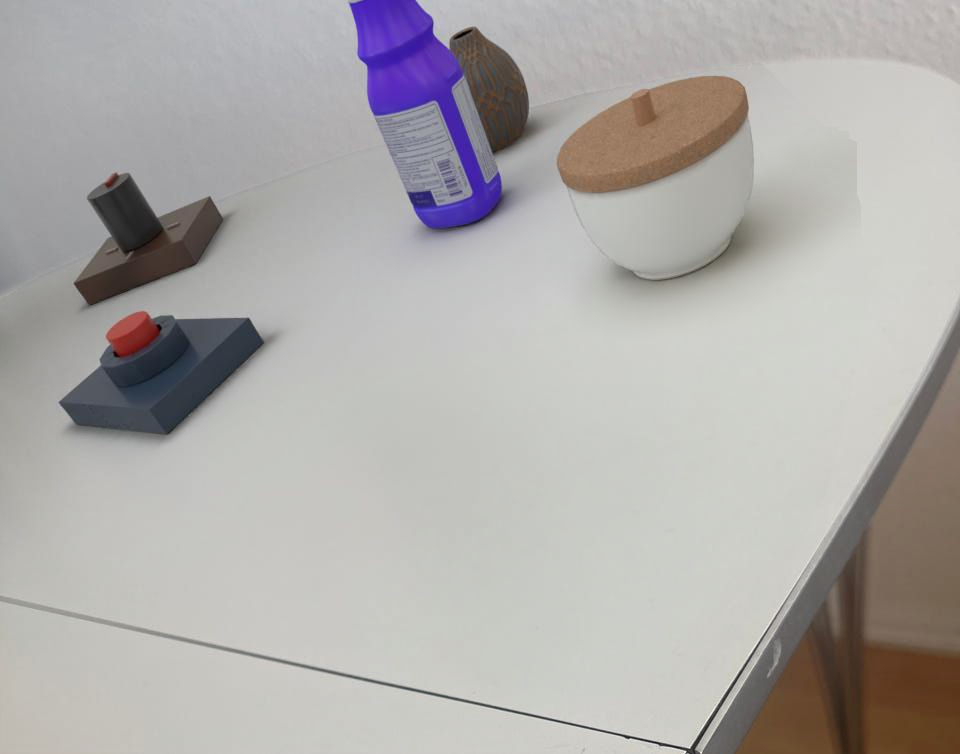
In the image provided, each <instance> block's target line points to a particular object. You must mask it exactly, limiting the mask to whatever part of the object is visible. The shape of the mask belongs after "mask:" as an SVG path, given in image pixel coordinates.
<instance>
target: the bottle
mask: <svg viewBox="0 0 960 754" xmlns="http://www.w3.org/2000/svg"><path fill="white" fill-rule="evenodd" d="M347 2H348V4H349V5H348V6H349V8H350V11H351V13H352V16H353V20H354V23H355V28H356V29H355V30H356V36H357V51H356V54H357V57H358V59H359V60H360V61H361V62H362V63H363V64H365V65H366V74H367V75H366V96H367V101H368V106H369V108H370V111H371V113H372V115H373V117H374V120H375V123H376V125H377V127H378V129H379V131H380V135H382V138H383V142H384V143H385V146H386V148H387V151H388V153H389V155H390V157H391V159H392V162H393V164H394V167H395V168H396V170H397V173H398V175H399V178H400V180H401V181H402V185H403V187H404V190H405V192H406V194H407V196H408V199H409V201H410V203H411V205H412V208H413V211H414V212H415V214H416V216H417V218H418V219H419V220H420V221H421V223H422V224H424V225H425V226H426V227H428V228H432V229H445V228H453V227H459V226H464V225H467V224H471V223H474V222H477V221H479V220H481V219H483V218H484V217H486V216H488V214H489V213H490V212H491V211H492V210H493V208H495V207H496V206H497V204H498V203H499V201H500V199H501V197H502V192H503V183H502V177H501V174H500V171H499V168H498V165H497V161H496V159H495V156H494V154H493V151H491V148H490V145H489V143H488V140H487V137H486V134H485V131H484V129H483V126H482V123H481V120H480V118H479V115H478V112H477V109H476V107H475V104H474V101H473V98H472V96H471V93H470V90H469V87H468V84H467V82H466V79H465V76H464V74H463V71H462V69H461V66H460V64H459V62H458V60H457V59H456V57H455V56H454V54H453V53H452V52H451V51H450V50H449V47H447V46H446V45H445V44H444V43H443V42H442V41H441V40H440V39H438V37H437V36H436V35H435V34H434V23H435V22H434V18H433V16H431V14H429V13H427V11H425V9H424V8H423V7H422V6H421V5H420V4H419V2H418V1H417V0H347Z"/></svg>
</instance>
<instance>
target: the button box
mask: <svg viewBox="0 0 960 754" xmlns="http://www.w3.org/2000/svg"><path fill="white" fill-rule="evenodd" d="M151 319H152V320H153V322H154V323H155V325H156V326H157V328H158V329H159V330H160V333H159V335H158V336H157V337H156V338H155V339H154V340H153V341H152V342H151V343H149V344H148V345H147V346H145V347H144V348H142V349H140V350H139V351H137V352H135V353H133V354H131V355H128V356H125V357H119V356H118V354H117V353H116V351H115V350H114V349H113V347H112V346H111V345H110V344H109V345H108V346H107V347H106V348H105V349H104V351H103V353H102V354H101V356H100V358H99V363H100V365H99V366H98V367H97V368H96V369H95V370H93V371H92V372H91V373H90V374H89V375H87V377H85V378H84V379H83V380H82V381H81V382H80V383H78V384H77V385H76V386H75V387H74V388H73V389H71V390H70V391H69V392H68V393H67V394H66V395H65V396H63V398H61V399H60V400H59V401H58V404H59V405H60V406H61V408H62V409H63V410H64V411H65V412H66V414H67V415H68V416H69V418H70V419H71V420H72V421H73V422H74V424H75V425H77V426H86V427H87V426H88V427H95V428H96V427H97V428H104V429H105V428H106V429H114V430H115V429H116V430H124V431H133V432H134V431H135V432H142V433H143V432H144V433H153V434H161V435H168V434H170V432H171V431H172V430H174V429H175V428H176V427H177V425H179V424H180V423H181V422H182V421H183V420H184V419H185V418H186V417H187V416H188V415H190V413H192V412H193V410H195V408H196V407H198V406H199V405H200V404H201V403H202V402H203V401H204V400H205V399H207V398H208V397H209V395H210V394H211V393H213V391H215V390H216V389H217V388H218V387H219V386H220V385H221V384H222V383H223V382H224V381H225V380H226V379H227V378H228V377H230V375H231V374H232V373H234V372H235V371H236V370H237V369H238V367H240V366H241V365H242V364H243V363H244V362H245V361H246V360H247V359H248V358H249V357H250V356H251V355H253V353H255V352H256V351H257V350H258V349H259V348H260V347H261V346H262V345H263V344H264V343H265V342H264V340H263V338H262V336H261V335H260V333H259V331H258V330H257V329H256V327H255V325H254V324H253V321H252V320H251V319H250V317H215V318H214V317H212V318H211V317H210V318H175V316H174V315H172V314H169V315H168V314H167V315H166V314H165V315H164V314H163V315H158V316H155V317H152V318H151Z"/></svg>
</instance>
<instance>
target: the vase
mask: <svg viewBox="0 0 960 754" xmlns="http://www.w3.org/2000/svg"><path fill="white" fill-rule="evenodd" d="M448 42H449V43H448V46H449V47H448V49H449V50H450V51H451V52H452V53H453V54H454V56H455V57H456V59H457V60H458V62H459V64H460V66H461V69H462V71H463V74H464V76H465V79H466V82H467V84H468V87H469V90H470V93H471V96H472V98H473V101H474V104H475V107H476V109H477V112H478V115H479V118H480V120H481V123H482V126H483V129H484V131H485V134H486V137H487V140H488V143H489V145H490V148H491V151H492V152H495V151H499V150H501V149H503V148H506V147H507V146H509V145H511V144H513V143H514V142H516V141H517V140H518V139H519V138H520V137H521V136H522V135H523V133H524V131H525V129H526V126H527V122H528V120H529V114H530V98H529V92H528V88H527V85H526V84H527V83H526V81H525V78H524V76H523V73H522V71H521V69H520V67H519V66H518V63H516V61H515V60H514V59H513V57H512V55H510V54H509V52H507V50H505V49H504V48H502V47H500V46H499V45H497V44H496V43H495V42H493V41H492V40H491V39H489V38H487V37H486V36H485V35H484V34H483V33H482V32H481V31H480V30H479V28H478V27H477V26H469V27H466V28H464V29H462V30H459V31H457V32H456V33H454V34H453V35H451V37H450V38H449V41H448Z"/></svg>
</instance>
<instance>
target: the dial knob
mask: <svg viewBox="0 0 960 754" xmlns="http://www.w3.org/2000/svg"><path fill="white" fill-rule="evenodd" d="M86 200H87V201H88V203H89V205H90V206H91V208H92V209H93V210H94V212H95V214H96V215H97V217H98V218H99V219H100V221H101V223H102V224H103V225H104V227H105V228H106V230H107V231H108V233H109V235H110V237H113V239H114V240H115V242H116V243H117V245H118V246H119V248H120V249H121V251H123V252H126V251H131V250H133V249H136V248H138V247H140V246H142V245H144V244H146V243H147V242H149V241H150V240H152V239H153V238H154V237H156V236H157V235H158V234H159V233H160V232H161V230H162V228H163V226H162V224H161V223H160V221H159V220H158V216H157V214H156V213H155V212H154V210H153V208H152V206H151V205H150V203H149V202H148V200H147V198H146V197H145V195H144V194H143V192H142V191H141V189H140V187H139V186H138V184H137V182H136V181H135V179H134V178H133V176H132V174H131V173H130V172H124V173H120V174H118V172H116V171H115V172H114V173H112V174H111V175H109V177H108V178H107V180H105V181H104V182H103V183H101V184H99V185H97V186H96V187H95V188H93V190H91V191H90V192H89V194H88V195H87V196H86Z"/></svg>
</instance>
